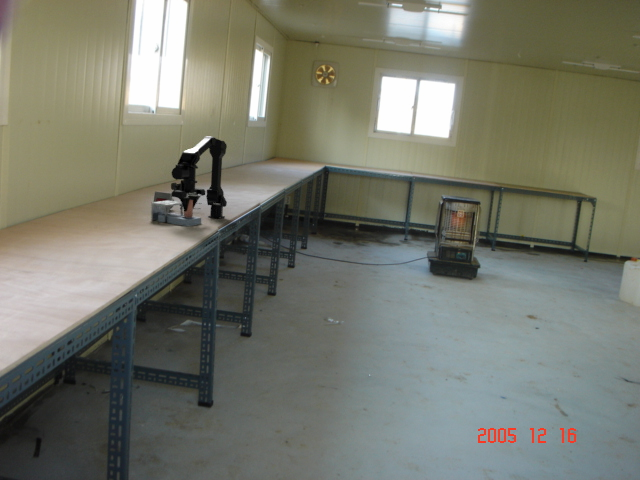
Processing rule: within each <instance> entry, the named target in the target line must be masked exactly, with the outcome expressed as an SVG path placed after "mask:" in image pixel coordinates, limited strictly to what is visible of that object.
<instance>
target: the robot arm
mask: <svg viewBox="0 0 640 480" xmlns="http://www.w3.org/2000/svg"><path fill="white" fill-rule="evenodd" d="M227 148H228V147H227V143H226V142H225V140H221V139H218V138H217V137H214V136H207V135H206V136H204V137H203V139H202V140H201V141H199V142H198V143H197V144H196V145H195V146H194V147H193V148H189V149H187V150H186V149H185V150H184V151H182V153H181V155H180V157H179V159H178V162H177V164H175V167H174V168H172V171H171V176H172V178H173V179H175V180H180V183H177V182H172V183H170V189H171V190H172V191H171V193H172V198H177V199H179V200H181V201H180V202H182V205H183V208H184V209H183V210H184V211H187V209H188V205H189V201H190V199H191V200H193V208H194V209H195V207H196V205H197V204H198V201H199V199H200V198H201V196H203V195H204V196H205V197H206V201H207V202H206V203H207V206H210V214H209V215H208V216H207V217H208V218H212V219H223V218H226V216H224V215H223V214H224V212H223V211H224V210H223V209H224V208H225V207H227V203H228V201H227V200H226V198H225V196H224V195H225V193H224V191H223V188H222V169H223V163H222V162H223V158H224V156H225V155H226V152H227ZM207 150H208V151H209V154H210V156H211V180H210V187H209V188H207V190H205V189H204V188H198V187H196V184H198V180H196V174H197V173H196V172H197V171H196V170H197V169H199V166H198V165H197V164H198V162H199V161H200V159H201V156H202V155H203V154H204V153H205V152H206V151H207ZM200 194H201V196H200ZM196 203H197V204H196ZM184 211H183V212H184Z"/></svg>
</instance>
